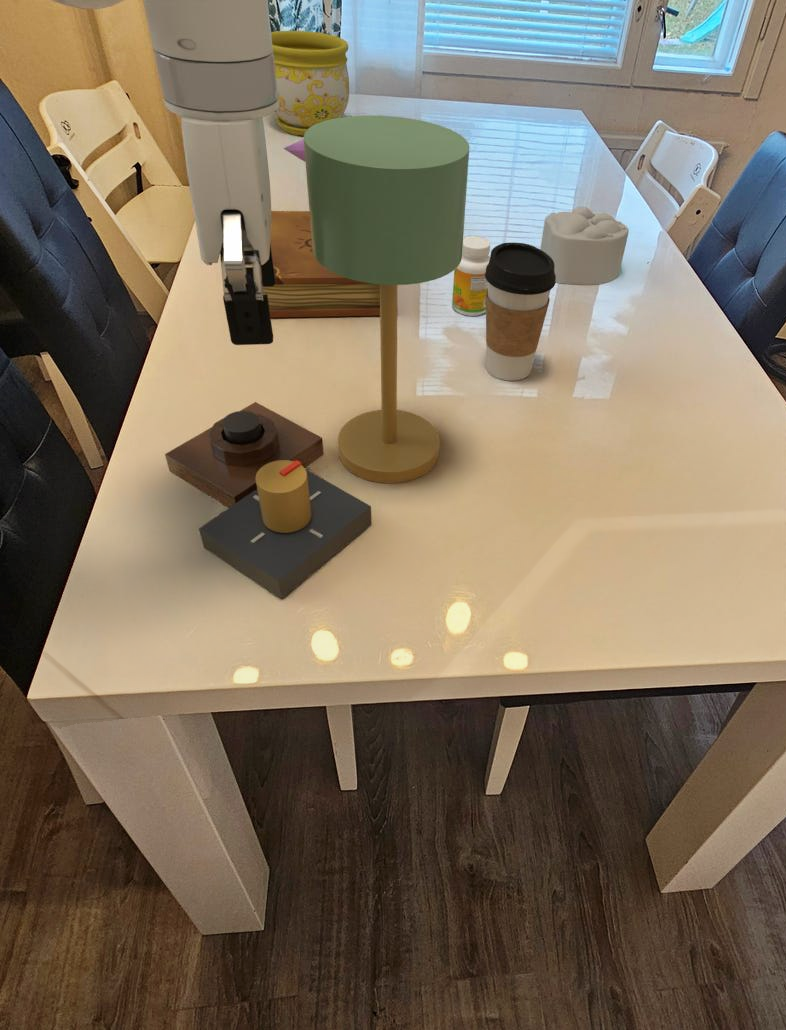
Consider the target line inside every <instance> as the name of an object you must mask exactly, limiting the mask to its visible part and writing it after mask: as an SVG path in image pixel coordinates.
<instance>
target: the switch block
mask: <svg viewBox="0 0 786 1030" xmlns="http://www.w3.org/2000/svg"><path fill="white" fill-rule="evenodd" d="M240 411H249V412H253V413H255V414H256V415H258V417H259V419H260V424H261V430H262V436H261V438H260V439H259V440H257V441H256V442H254V443H250V444H245V445H237V444H230V443H229V442H228V441H227V440H226V439H225V434H224V429H223V425H222V422H223V419H224V418H225V417H223V418H221V419H219V420H218V421H216V422H214V423H213V425H212V426H211V427H209V428H208V429H206V430H204V431H202V432H200V433H199V434H197V435H196V436H194V437H192V438H190V439H189V440H187V441H185V442H184V443H181V444H180V445H178V446H176V447H175V448H172V449H171V450H169V451H168V452H166V453H164V457H165V461H166V463H167V466H168V470H169V472H171V473H173V474H174V475H176V476H177V477H179V478H181V479H182V480H184V481H185V482H187V483H188V484H190V485H192V486H193V487H194V488H196V489H198V490H200V491H201V492H203V493H204V494H206V495H208V496H209V497H211V498H212V499H214V500H216V501H217V502H219V503H220V504H222V505H224V506H226V507H227V509H228V508H230V507H231V506H233V505H234V504H236V503H237V502H239V501H240V500H241V499H243V498H244V497H246V496H247V495H249V494H250V493H252V492H253V491H255V490H256V489H257V485H256V474H257V472H258V471H259V469H260V468H261V467H263V466H264V465H266V464H268V463H270V462H274V461H279V460H289V461H296V460H297V461H299V462H301V465H302V466H303V467H304V468H306V467H307V466H309V465H310V464H311V463H313V462H314V461H315V460H317V459H318V458H320V457H321V456H323V455H324V442H323V437H321V436H320V435H318V434H317V433H314V432H313V431H310V430H309V429H306V428H305V427H303V426H301V425H299V424H297V423H295V422H294V421H292V420H290V419H288V418H286V417H285V416H283V415H281V414H279V413H277V412H275V411H273V410H271V409H270V408H268V407H266V406H265V405H262V404H260V403H259V402H257V401H255V402H253V403H250V404H249V405H248V406H246V407H243V408H242V409H241V410H240Z"/></svg>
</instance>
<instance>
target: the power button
mask: <svg viewBox="0 0 786 1030" xmlns="http://www.w3.org/2000/svg"><path fill="white" fill-rule="evenodd" d="M223 418H224V419H223ZM223 418H222V419H223V422H222V425H223V429H224V434H225V439H226V440H227V441H228V442H229V443H230V444H237V445H245V444H250V443H254V442H256V441H257V440H259V439H260V438H261V436H262V430H261V424H260V419H259V417H258V415H256V414H255V413H253V412H249V411H241V410H238V411H234V412H231V413H229V414H227V415H226V416H224V417H223Z"/></svg>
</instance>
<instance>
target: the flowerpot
mask: <svg viewBox="0 0 786 1030" xmlns="http://www.w3.org/2000/svg"><path fill="white" fill-rule="evenodd" d="M271 37H272V47H273V56H274V65H275V74H276V84H277V93H278V103H279V108H278V110H277V111H276V112H274V113H275V115H276V118H275V122H276V123H277V125H279V126H280V128H281V129H282V130H283V131H285V132H286V133H288V134H291V135H294V136H302V137H304V134H305V132H306V131H307V130H308V129H309V128H310V127H312V126H313V125H315V124H318V123H320V122H323V121H326V120H331V119H335V118H341V117H343V115H344V114H345V112H346V109H347V108H348V103H349V99H350V77H349V69H348V65H347V62H348V58H347V52H348V50H349V44H348V42H347V40H345V39H344V38H342V37H339V36H336V35H332V34H328V33H323V32H317V31H307V30H277V31H271Z"/></svg>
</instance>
